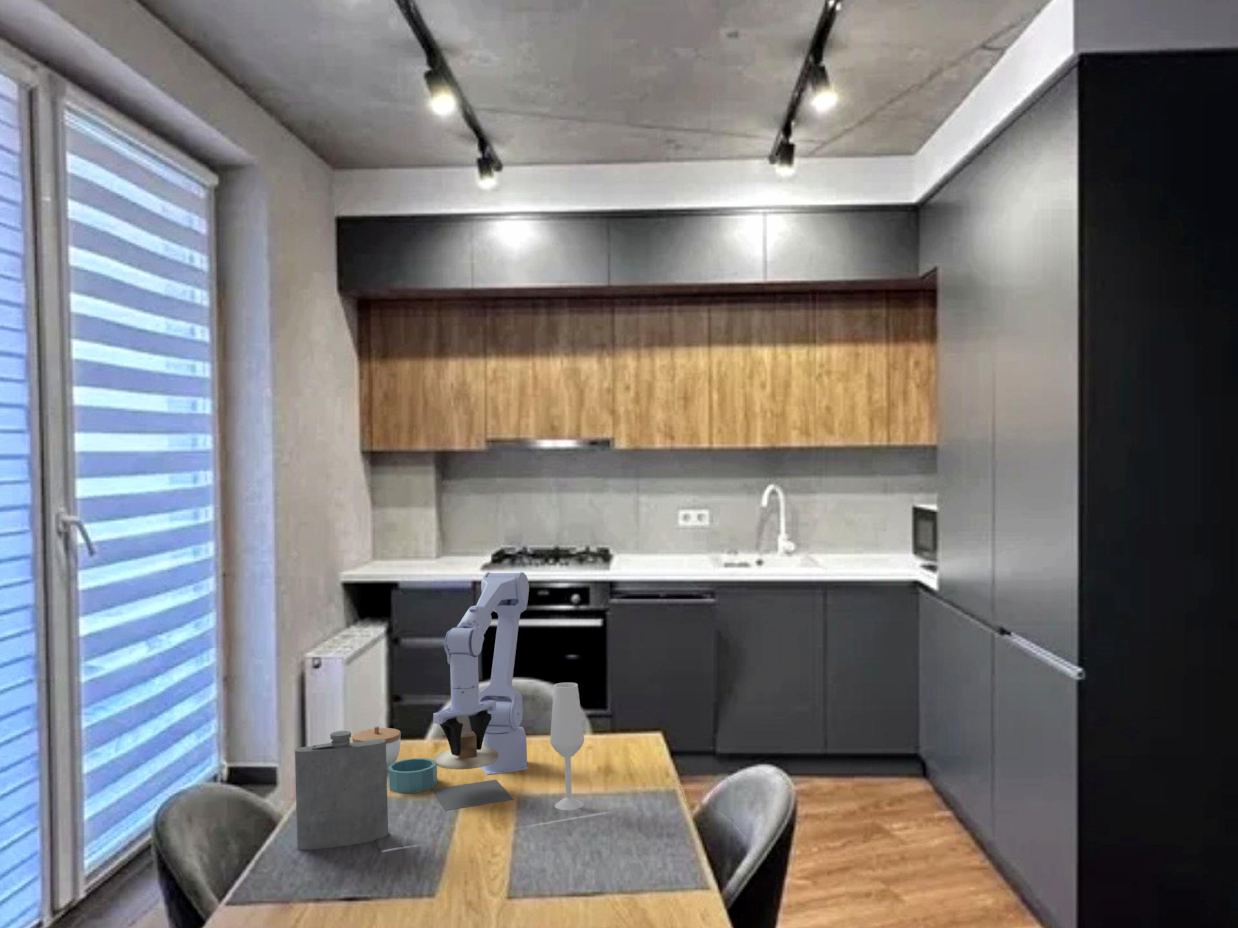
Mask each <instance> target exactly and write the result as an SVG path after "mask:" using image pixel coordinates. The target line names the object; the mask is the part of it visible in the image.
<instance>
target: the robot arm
mask: <svg viewBox="0 0 1238 928" xmlns="http://www.w3.org/2000/svg"><path fill="white" fill-rule="evenodd" d="M529 583H530V582H529V579H528V577H527V574H525V572H521V571H520V572H490V571H489V572H486V573H484V575H483V577H482V579H481V584H480V589H481V595H480V597H478V598H479V599H478V601H477V603H476V605H473V606H472V605H471V606H470V607H469V608H468V609H467V611H466V612H465V614H464V615H463V617H462V618H461V620H460V622H459V623H458V624H457V625H456V626H455V627H452V628H451V629H450V630H448V631H447V632H446V635H445V639H444V643H443V645H444V651H445V653H446V657H447V664H448V665H450V669H449V671H450V672H449V673H450V707H447V708H444V709H443V710H440V711H437V712H434V713H433V714H432V716H433V720H432V721H433V724H435V725H436V724H437V725H439V726H440V728H441V729H442V730H443V733H444V734H445V737H446V740H447V741H448V745H449V750H450V749H451V754H452V755H455V756H459V755H460V751H461V742H460V740H461V733H462V732H463V731H462V730H463V727H464V724H463V723H462V722H459V720H458V719H463V718H466V717H468V720H469V724H470V730H471V731H473V732H474V733H475V734H476V742H477V750H481V747H486V748H491V749H494V750H496V751H497V752H498V760H497V761H496V762H494V763H492V764H490V765H487V766H483V767H479V768H480V769H481V770H482V771H483V773H484V774H485V775H487V776H491V775H498V774H504V773H513V772H518V771H523V770H524V771H525V770H528V769H529V767H528V749H527V747H528V745H527V736H526V731H525V728H524V727H523V726H520V725H521V724H522V720H523V714H524V710H523V696H522V694H521V693H520V691H518V690H517V689H516V688H515V687H514V686H513V677H514V668H515V661H516V660H515V659H516V650H517V642H518V634H519V633H518V632H519V626H520V618H521V614H522V613H523V612H524V611H527V606H528V604H529V603H528V601H529V592H530V584H529ZM493 612H495V613H497V616H498V617H497V627H496V633H495V643H494V651H493V658H492V664H491V665H492V666H491V675H490V680H489V681H490V682H489V684H488V685H487V686H485V687H484V688H483V689H481V690H480V687H479V686H480V685H479V680H480V679H479V655H480V654H481V652H482V649H483V643H484V641H485V636H484V635H485V634H486V631H487V630H488V628H489V626H490V625H491V623H492V620H493V619H492V615H491V614H492V613H493ZM471 731H470V732H471Z"/></svg>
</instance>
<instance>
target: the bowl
mask: <svg viewBox="0 0 1238 928" xmlns="http://www.w3.org/2000/svg"><path fill="white" fill-rule="evenodd" d="M387 768H388V770H387V789H389V791H390V792H391V791H392V792H395V793H402V794H403V793H405V794H406V793H408V794H411V793H418V792H423V791H424V792H425V791H427V790H429V789H434V787H435V786H436V785H437V784H438V766H437V765H436V764H435V759H430V758H426V757H423V758H422V757H418V758H417V757H415V758H414V757H412V758H408V759H407V758H406V759H401V760H396V761H395V762H394V763H392V764H390V765H389V766H388V767H387Z"/></svg>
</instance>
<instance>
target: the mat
mask: <svg viewBox="0 0 1238 928" xmlns="http://www.w3.org/2000/svg"><path fill="white" fill-rule="evenodd" d="M430 789H431V792H432V793H433V795H434V796H435V798H436V800H437V801H438V803H439V804H440V806H441V807H442V809H443V810H444V811H445V812H446V811H451V810H459V809H464V808H469V807H470V808H471V807H476V806H483V805H489V804H495V803H501V802H508V801H514V799H515V798H513V796H512V795H511V794H510V793H509V792H508V791H507V789H506V788H505V787H503V785H502V784H501V783H500V782H499V780H497V779H491V780H484V781H478V782H477V781H476V782H472V783H464V784H459V785H458V784H457V785H451V786H444V787H438V788H430Z"/></svg>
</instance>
